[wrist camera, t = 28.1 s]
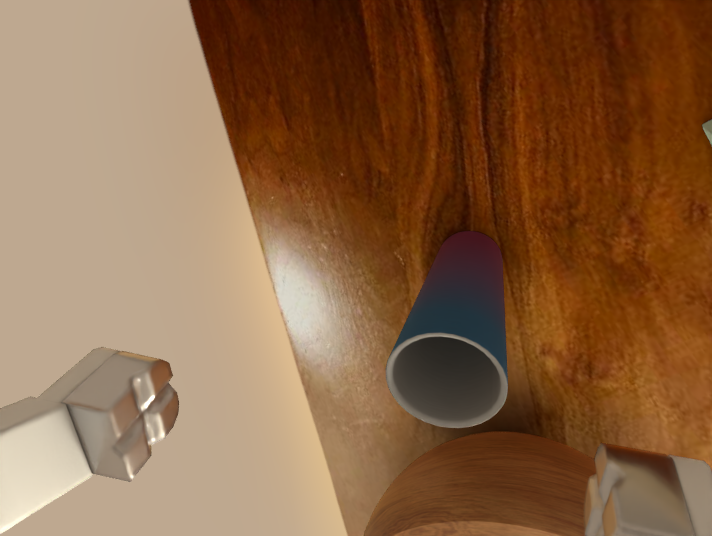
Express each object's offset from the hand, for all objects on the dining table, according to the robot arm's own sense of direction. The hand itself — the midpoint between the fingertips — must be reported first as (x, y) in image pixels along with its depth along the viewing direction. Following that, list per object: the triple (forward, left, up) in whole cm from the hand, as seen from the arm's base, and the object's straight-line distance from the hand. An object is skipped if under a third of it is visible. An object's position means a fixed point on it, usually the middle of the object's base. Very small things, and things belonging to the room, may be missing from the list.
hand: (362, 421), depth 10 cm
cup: (+8, -10, -31) cm, 34 cm away
